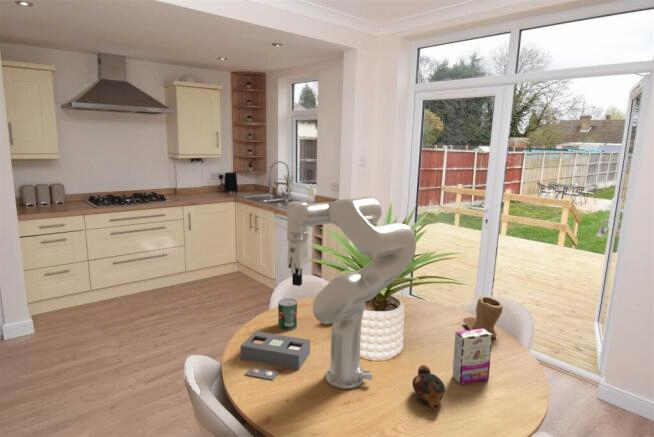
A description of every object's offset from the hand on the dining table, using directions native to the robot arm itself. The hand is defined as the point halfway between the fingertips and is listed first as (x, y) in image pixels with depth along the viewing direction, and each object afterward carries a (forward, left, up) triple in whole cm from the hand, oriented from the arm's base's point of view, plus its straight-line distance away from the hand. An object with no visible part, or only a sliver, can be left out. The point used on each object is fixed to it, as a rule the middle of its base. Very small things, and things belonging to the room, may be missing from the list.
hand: (297, 284), depth 149 cm
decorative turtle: (-49, +17, -25) cm, 58 cm away
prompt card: (+5, +20, -25) cm, 32 cm away
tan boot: (-69, -37, -25) cm, 83 cm away
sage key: (+5, +8, -22) cm, 24 cm away
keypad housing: (+5, +8, -25) cm, 27 cm away
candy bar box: (-62, +1, -25) cm, 67 cm away
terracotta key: (+12, +8, -24) cm, 28 cm away
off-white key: (-2, +8, -24) cm, 25 cm away
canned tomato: (+10, -16, -25) cm, 32 cm away
